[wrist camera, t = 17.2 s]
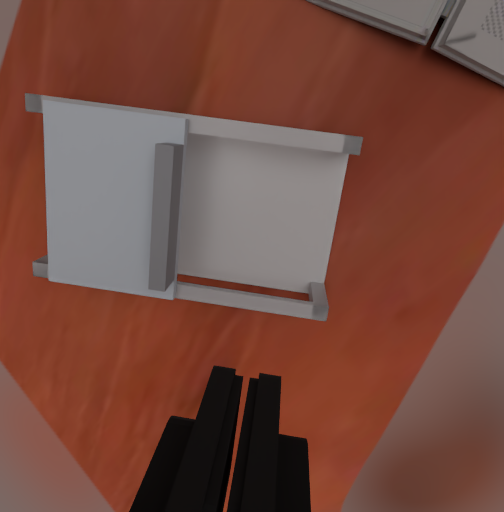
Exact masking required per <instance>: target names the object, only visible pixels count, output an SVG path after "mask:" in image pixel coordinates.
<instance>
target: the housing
mask: <svg viewBox="0 0 504 512" xmlns="http://www.w3.org/2000/svg"><path fill="white" fill-rule="evenodd" d="M43 100H47V101H55V102H62V103H70V104H78V105H85V106H93V107H100V108H108V109H116V110H123V111H131V112H139V113H146V114H154V115H161V116H169V117H177V118H184V119H188V132H187V146H186V160H185V174H184V188H183V202H182V216H181V230H180V244H179V257H178V271H177V274H183V275H190V276H196V277H203V278H209V279H216V280H222V281H229V282H236V283H242V284H249V285H255V286H262V287H268V288H275V289H281V290H288V291H295V292H301V293H308V294H309V301H303V300H296V299H290V298H283V297H277V296H270V295H264V294H257V293H250V292H244V291H237V290H231V289H224V288H218V287H211V286H205V285H198V284H192V283H185V282H179V281H177V285H176V296H175V298H179V299H185V300H192V301H198V302H205V303H211V304H218V305H224V306H230V307H237V308H243V309H250V310H256V311H262V312H269V313H275V314H282V315H288V316H295V317H301V318H307V319H314V320H320V321H326V319H327V315H328V310H329V306H328V301H327V296H326V291H325V286H324V281H325V276H326V271H327V265H328V260H329V255H330V250H331V245H332V240H333V234H334V229H335V224H336V219H337V214H338V208H339V203H340V198H341V193H342V188H343V182H344V177H345V172H346V167H347V162H348V157H349V154H354V155H360V150H361V145H362V140H363V137H357V136H350V135H342V134H334V133H327V132H319V131H311V130H304V129H296V128H288V127H281V126H273V125H265V124H258V123H250V122H242V121H235V120H227V119H219V118H212V117H204V116H196V115H189V114H181V113H174V112H166V111H158V110H151V109H143V108H135V107H128V106H120V105H112V104H105V103H97V102H89V101H82V100H74V99H66V98H59V97H51V96H43V95H36V94H28V93H25V105H26V111H31V112H38V113H43ZM33 276H38V277H44V278H49V275H48V254H47V255H45V256H43V257H41V258H39V259H38V260H36V261H34V262H33Z"/></svg>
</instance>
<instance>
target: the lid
mask: <svg viewBox="0 0 504 512" xmlns="http://www.w3.org/2000/svg"><path fill="white" fill-rule="evenodd" d="M43 123H44V153H45V184H46V214H47V244H48V275H49V281H53V282H60V283H66V284H72V285H79V286H85V287H92V288H98V289H104V290H111V291H117V292H124V293H130V294H136V295H143V296H149V297H156V298H162V299H168V300H173V299H174V298H175V296H176V285H177V271H178V257H179V244H180V230H181V216H182V202H183V188H184V174H185V160H186V146H187V132H188V119H184V118H177V117H169V116H161V115H154V114H146V113H139V112H131V111H123V110H116V109H108V108H100V107H93V106H85V105H78V104H70V103H62V102H55V101H47V100H43Z"/></svg>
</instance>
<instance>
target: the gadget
mask: <svg viewBox="0 0 504 512" xmlns="http://www.w3.org/2000/svg"><path fill="white" fill-rule="evenodd" d="M306 1H308V2H310V3H313V4H315V5H317V6H319V7H322V8H325V9H327V10H330V11H333V12H335V13H338V14H341V15H343V16H346V17H349V18H351V19H354V20H357V21H359V22H362V23H365V24H367V25H370V26H373V27H375V28H378V29H381V30H383V31H386V32H389V33H391V34H394V35H397V36H399V37H402V38H405V39H408V40H410V41H413V42H416V43H418V44H421V45H424V46H426V44H427V42H428V40H429V37H430V35H431V33H432V31H433V29H434V27H435V25H436V23H437V21H438V19H439V17H441V18H443V19H445V20H444V22H443V24H442V26H441V28H440V30H439V32H438V34H437V36H436V38H435V40H434V42H433V44H432V46H431V49H433V50H434V51H436V52H438V53H440V54H442V55H444V56H446V57H448V58H450V59H452V60H454V61H456V62H458V63H459V64H461V65H463V66H465V67H467V68H469V69H471V70H473V71H475V72H477V73H479V74H481V75H482V76H484V77H486V78H488V79H490V80H492V81H494V82H496V83H498V84H500V85H502V86H504V0H306Z"/></svg>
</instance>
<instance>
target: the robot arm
mask: <svg viewBox="0 0 504 512" xmlns="http://www.w3.org/2000/svg"><path fill="white" fill-rule="evenodd" d="M235 371H236V369H232V368H226V367H220V366H214V367H213V369H212V372H211V375H210V378H209V381H208V384H207V387H206V390H205V393H204V396H203V399H202V402H201V405H200V408H199V411H198V414H197V417H196V420H195V419H189V418H183V417H177V416H171V417H170V418H169V420H168V422H167V425H166V427H165V429H164V432H163V434H162V436H161V439H160V441H159V443H158V446H157V448H156V450H155V453H154V455H153V457H152V460H151V462H150V464H149V467H148V469H147V471H146V474H145V476H144V478H143V481H142V483H141V485H140V488H139V490H138V492H137V495H136V497H135V499H134V502H133V504H132V506H131V509H130V511H129V512H223V508H224V502H225V497H226V492H227V486H228V481H229V475H230V469H231V462H232V455H233V448H234V440H235V433H236V426H237V418H238V411H239V404H240V397H241V389H242V382H243V376H237V375H235ZM280 394H281V376H275V375H269V374H263V373H259V379H256V378H250V381H249V386H248V392H247V398H246V404H245V409H244V415H243V421H242V427H241V433H240V438H239V444H238V450H237V456H236V461H235V467H234V473H233V479H232V485H231V490H230V496H229V502H228V508H227V512H311V503H310V482H309V460H308V443H307V439H305V438H299V437H293V436H288V435H282V434H279V416H280Z"/></svg>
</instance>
